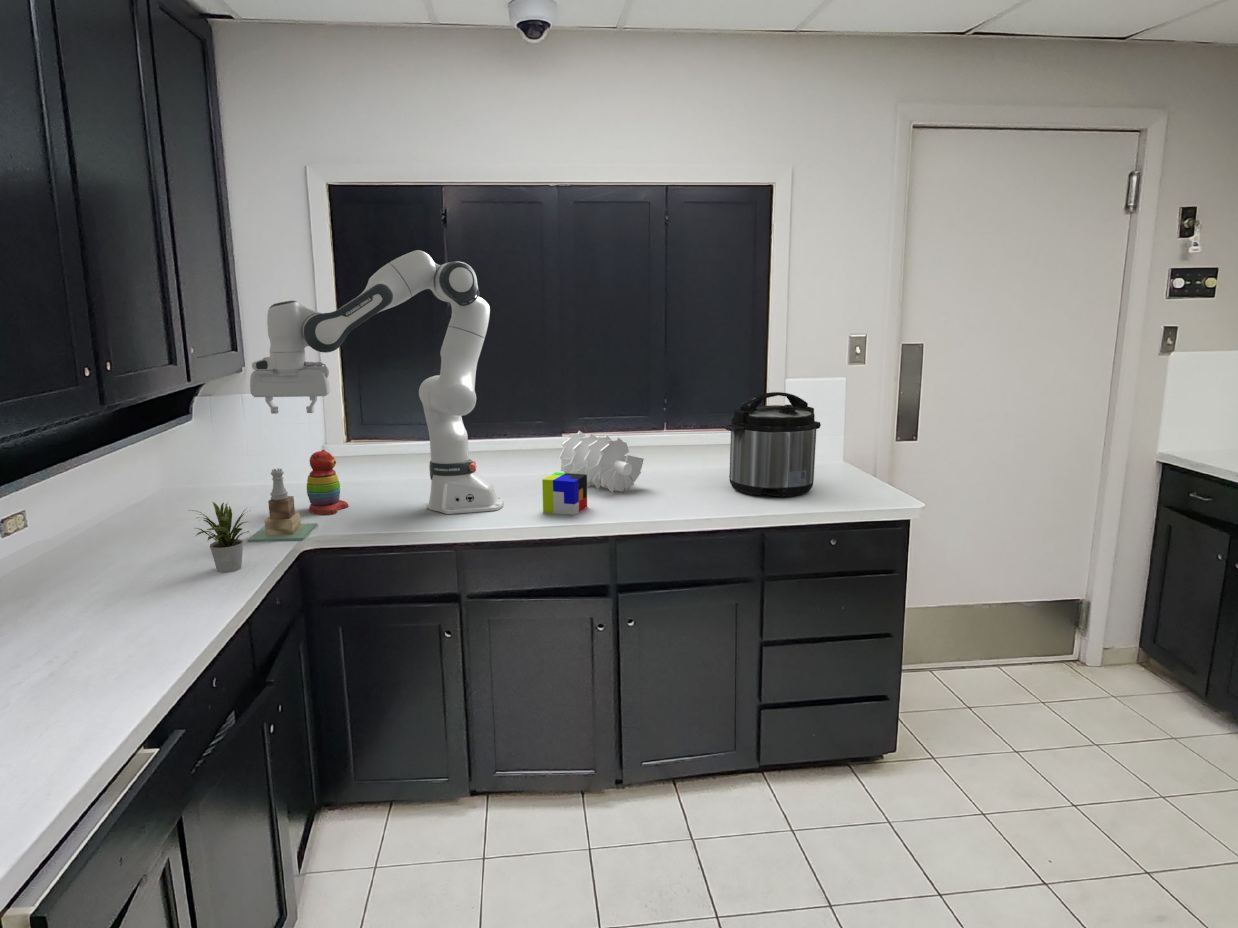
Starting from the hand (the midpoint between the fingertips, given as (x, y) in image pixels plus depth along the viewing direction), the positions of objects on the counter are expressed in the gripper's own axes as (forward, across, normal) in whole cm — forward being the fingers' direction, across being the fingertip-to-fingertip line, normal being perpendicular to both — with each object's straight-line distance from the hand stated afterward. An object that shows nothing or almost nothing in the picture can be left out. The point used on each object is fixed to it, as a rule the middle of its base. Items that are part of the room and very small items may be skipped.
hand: (292, 413), depth 223 cm
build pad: (+31, +2, +10) cm, 33 cm away
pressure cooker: (+31, -141, -26) cm, 147 cm away
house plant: (+31, +7, +38) cm, 50 cm away
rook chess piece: (+22, +2, +10) cm, 24 cm away
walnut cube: (+26, +2, +10) cm, 28 cm away
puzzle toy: (+31, -74, -7) cm, 81 cm away
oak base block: (+30, +2, +10) cm, 32 cm away
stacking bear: (+31, -3, -14) cm, 34 cm away
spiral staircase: (+31, -86, -34) cm, 98 cm away
